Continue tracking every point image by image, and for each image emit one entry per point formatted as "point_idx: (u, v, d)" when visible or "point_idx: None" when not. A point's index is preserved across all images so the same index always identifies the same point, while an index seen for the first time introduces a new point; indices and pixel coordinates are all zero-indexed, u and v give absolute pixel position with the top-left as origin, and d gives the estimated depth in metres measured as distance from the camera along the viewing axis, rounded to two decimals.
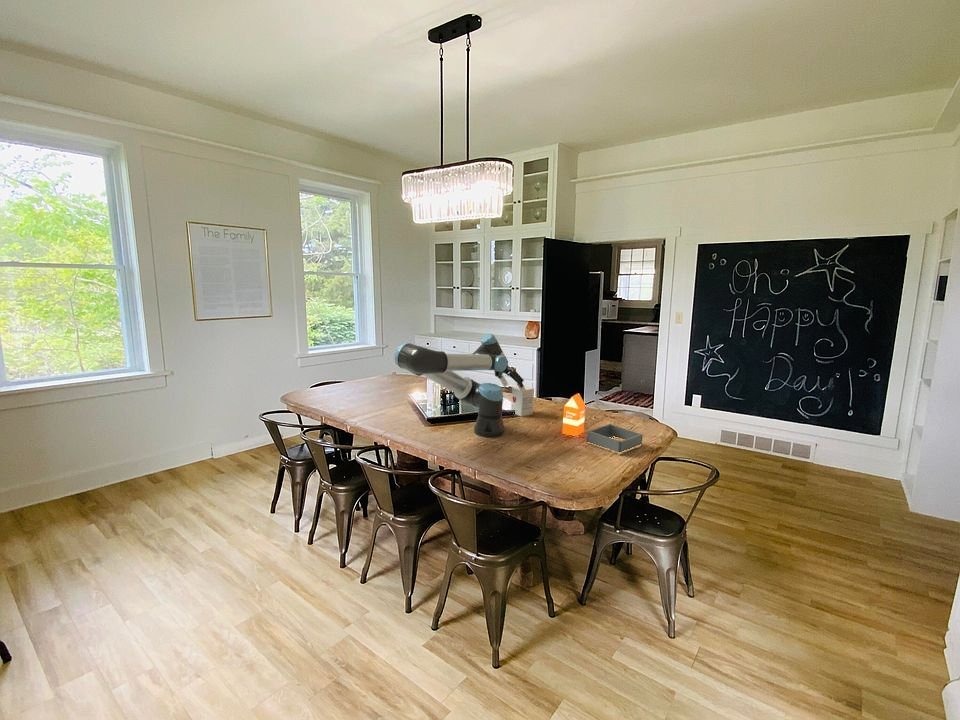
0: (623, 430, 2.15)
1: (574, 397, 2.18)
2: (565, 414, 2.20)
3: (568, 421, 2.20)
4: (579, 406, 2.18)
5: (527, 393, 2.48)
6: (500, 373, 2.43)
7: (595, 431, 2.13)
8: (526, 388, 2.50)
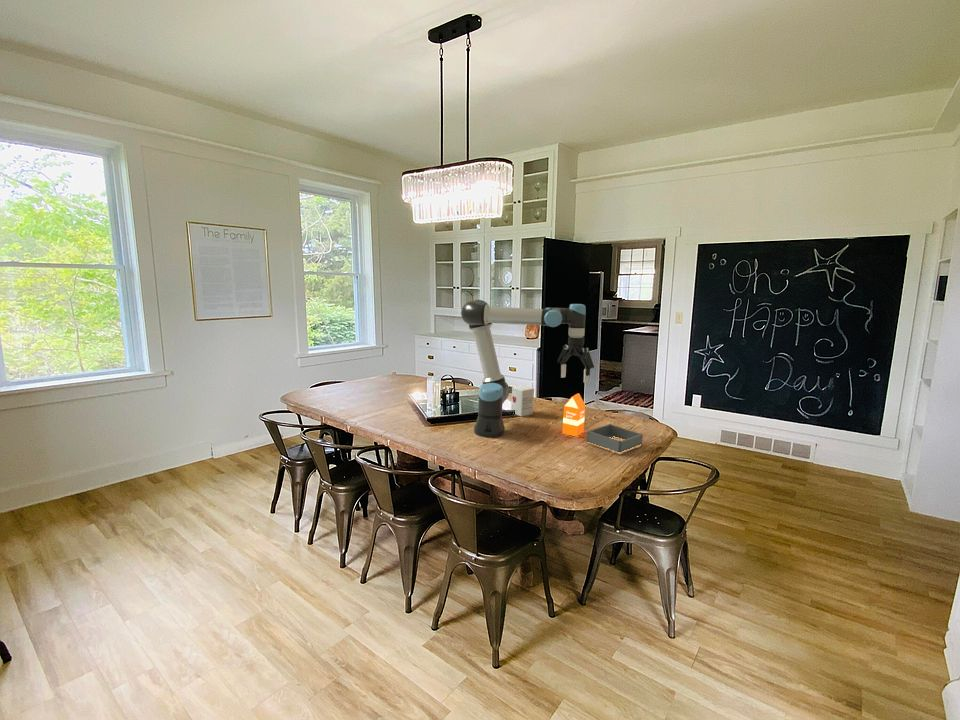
0: (623, 430, 2.15)
1: (574, 397, 2.18)
2: (565, 414, 2.20)
3: (568, 421, 2.20)
4: (579, 406, 2.18)
5: (527, 393, 2.48)
6: (568, 355, 2.20)
7: (595, 431, 2.13)
8: (526, 388, 2.50)
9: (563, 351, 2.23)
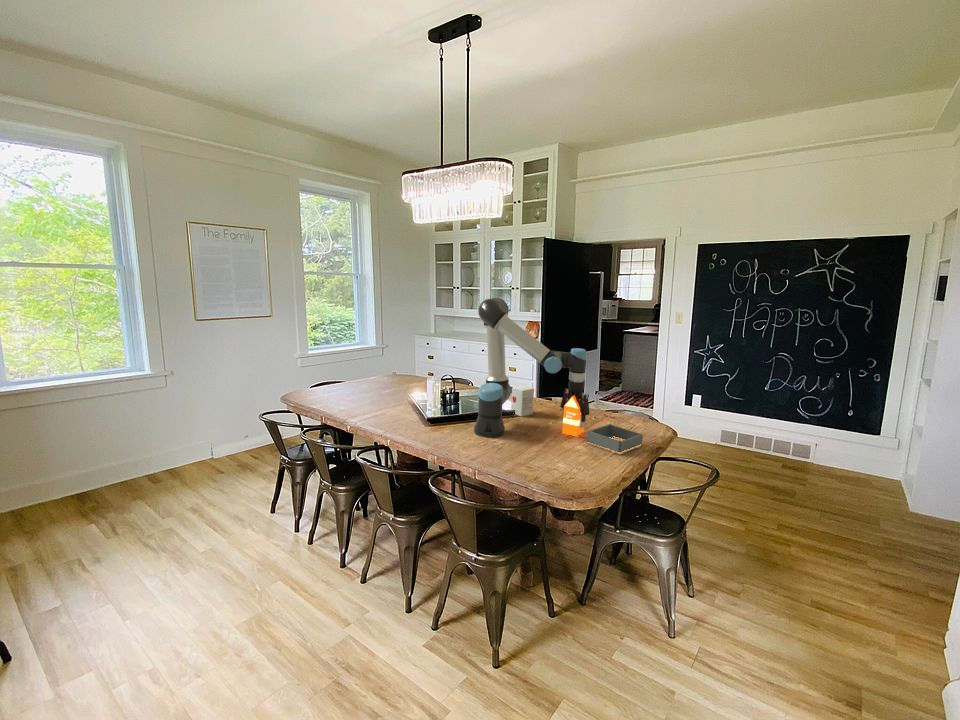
0: (623, 430, 2.15)
1: (574, 397, 2.18)
2: (565, 414, 2.20)
3: (568, 421, 2.20)
4: (579, 406, 2.18)
5: (527, 393, 2.48)
6: (569, 399, 2.22)
7: (595, 431, 2.13)
8: (526, 388, 2.50)
9: (564, 395, 2.24)
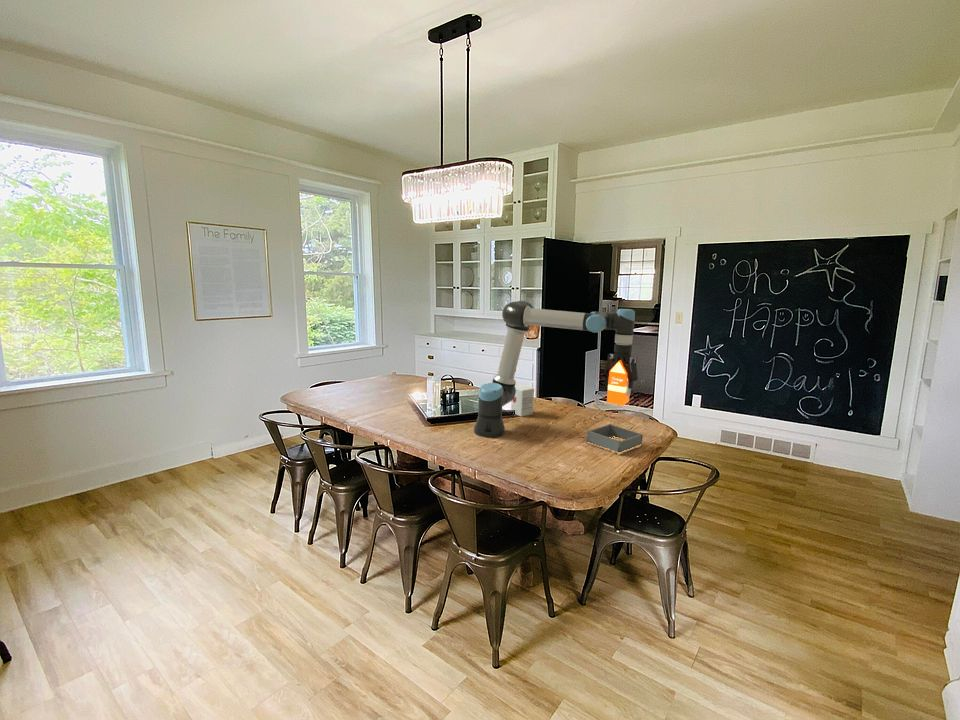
0: (623, 430, 2.15)
1: (621, 362, 2.01)
2: (610, 380, 2.03)
3: (613, 388, 2.03)
4: None
5: (527, 393, 2.48)
6: (615, 364, 2.04)
7: (595, 431, 2.13)
8: (526, 388, 2.50)
9: (609, 361, 2.07)
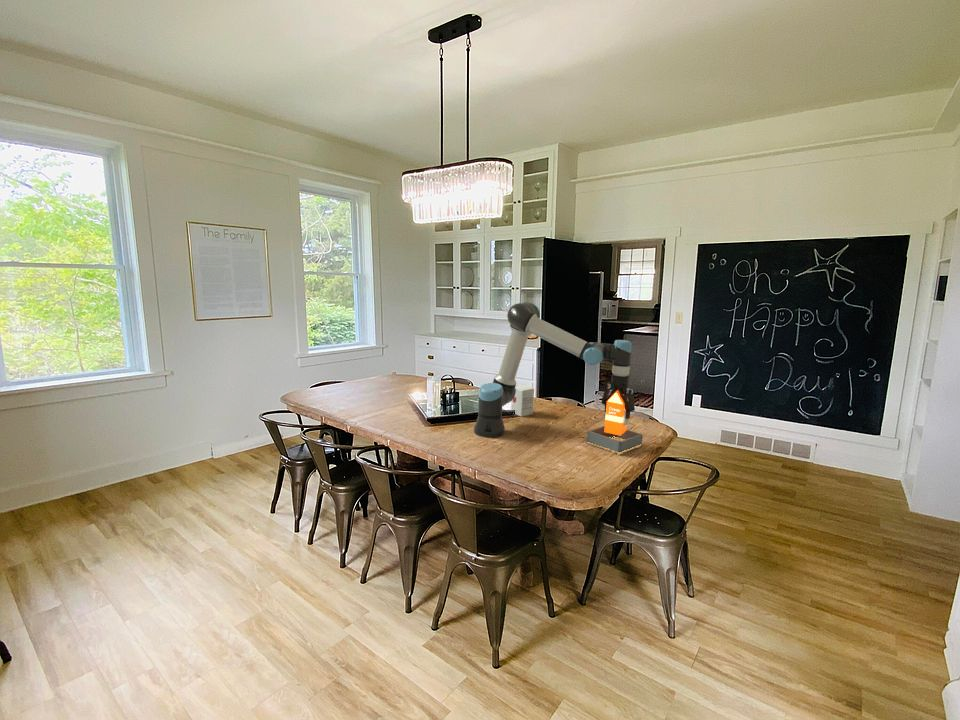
0: None
1: (618, 392, 2.04)
2: (608, 410, 2.06)
3: (611, 418, 2.05)
4: (623, 402, 2.03)
5: (527, 393, 2.48)
6: (612, 394, 2.07)
7: (595, 431, 2.13)
8: (526, 388, 2.50)
9: (606, 390, 2.10)
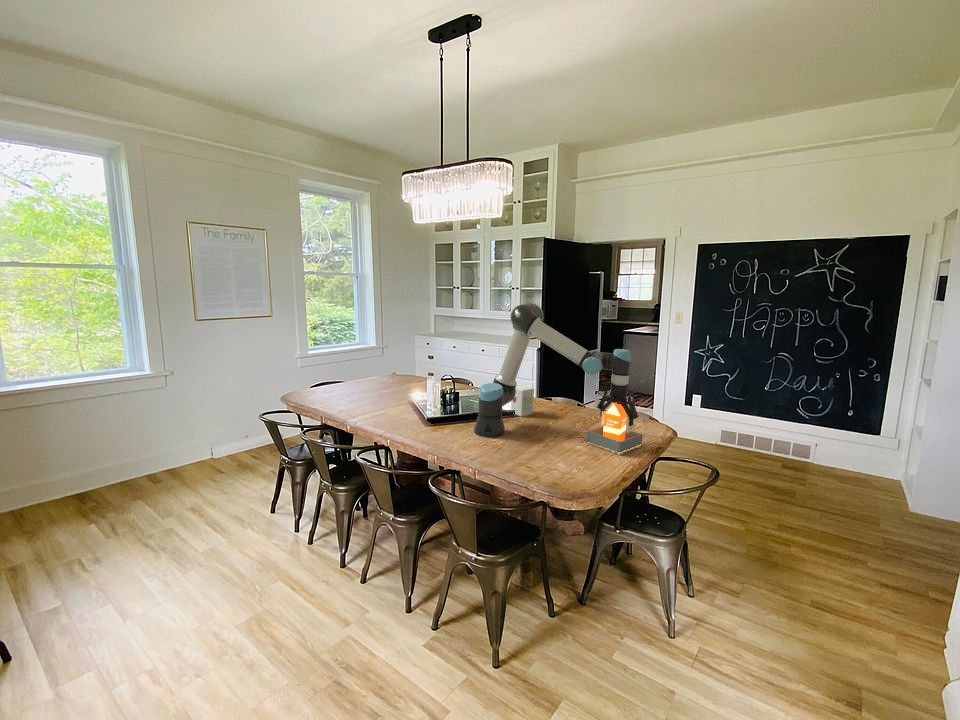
0: None
1: (616, 404, 2.05)
2: (606, 422, 2.07)
3: (609, 430, 2.06)
4: (621, 414, 2.04)
5: (527, 393, 2.48)
6: (610, 402, 2.08)
7: (595, 431, 2.13)
8: (526, 388, 2.50)
9: (604, 397, 2.11)
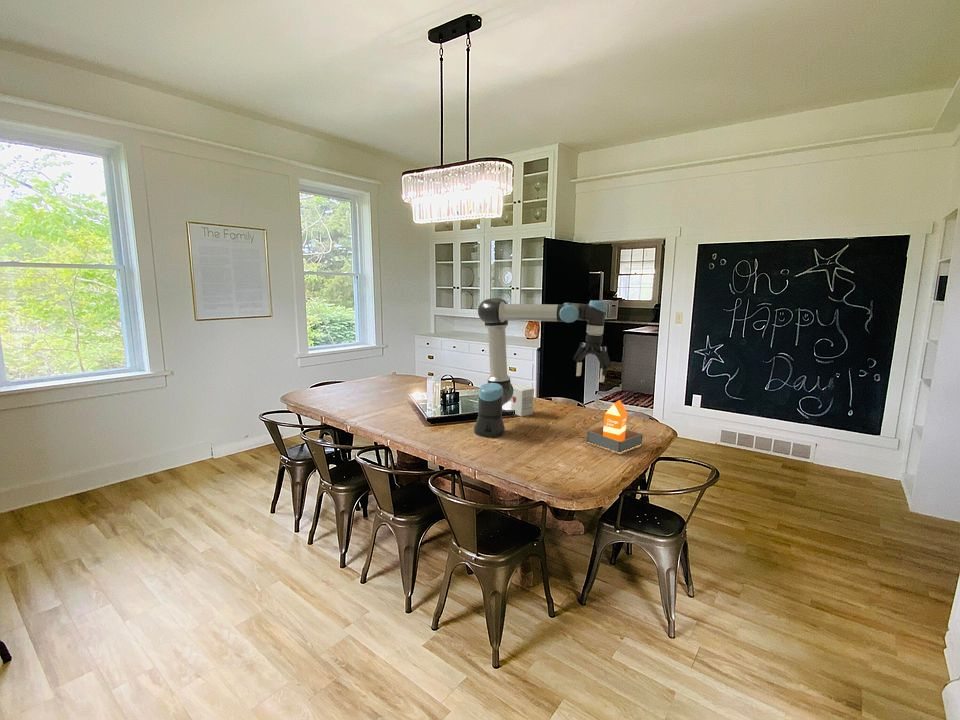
0: None
1: (616, 404, 2.05)
2: (606, 422, 2.07)
3: (609, 430, 2.06)
4: (621, 414, 2.04)
5: (527, 393, 2.48)
6: (585, 353, 2.13)
7: (595, 431, 2.13)
8: (526, 388, 2.50)
9: (580, 349, 2.15)
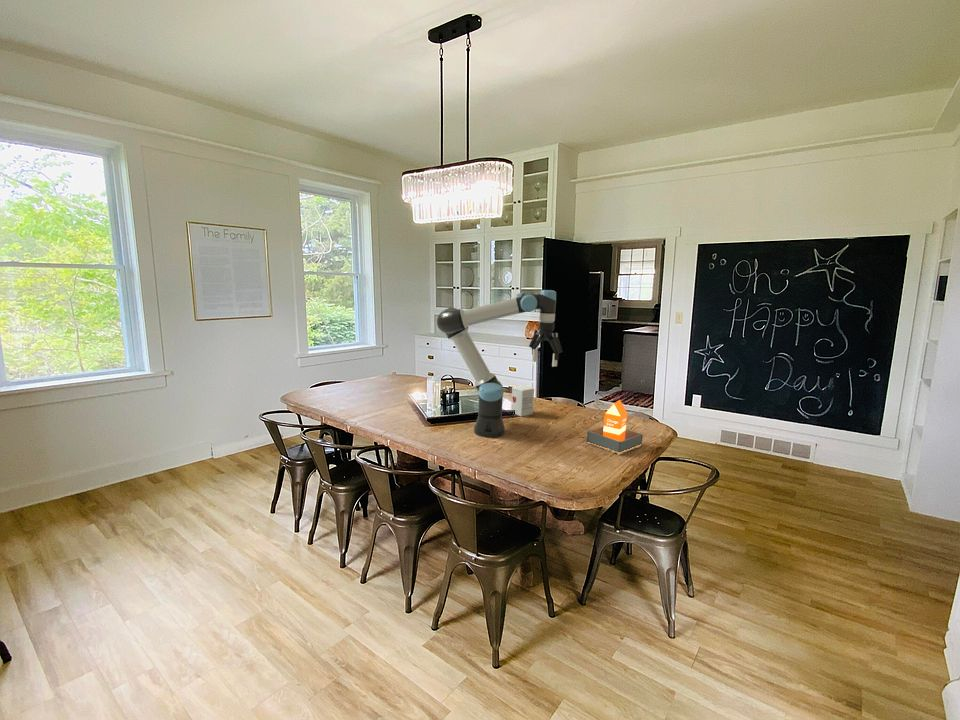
0: None
1: (616, 404, 2.05)
2: (606, 422, 2.07)
3: (609, 430, 2.06)
4: (621, 414, 2.04)
5: (527, 393, 2.48)
6: (539, 340, 2.27)
7: (595, 431, 2.13)
8: (526, 388, 2.50)
9: (534, 336, 2.29)
